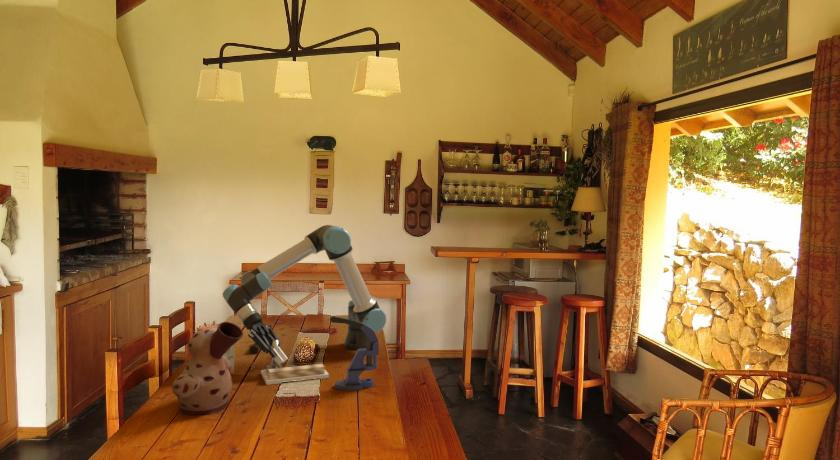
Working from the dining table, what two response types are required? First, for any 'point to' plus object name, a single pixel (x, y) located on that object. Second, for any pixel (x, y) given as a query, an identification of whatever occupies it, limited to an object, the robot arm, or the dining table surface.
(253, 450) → the dining table surface
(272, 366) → the surface gauge
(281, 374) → the oak board
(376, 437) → the dining table surface
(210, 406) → the vessel
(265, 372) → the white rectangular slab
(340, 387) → the hand press
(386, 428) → the dining table surface
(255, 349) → the hand tool
